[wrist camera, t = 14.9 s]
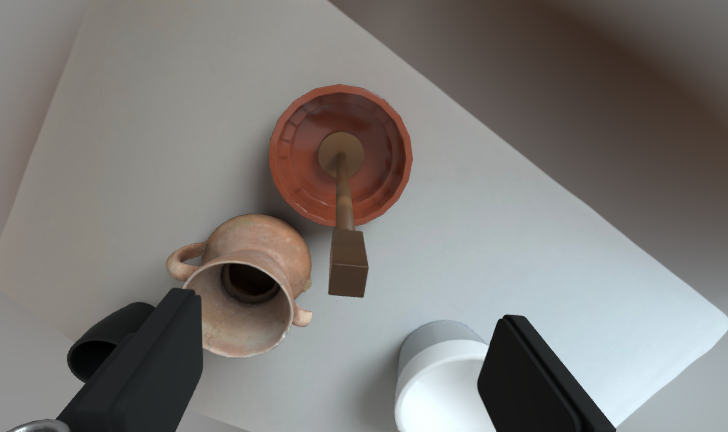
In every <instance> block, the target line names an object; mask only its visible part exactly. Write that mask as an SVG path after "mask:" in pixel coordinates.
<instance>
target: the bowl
mask: <svg viewBox="0 0 728 432" xmlns="http://www.w3.org/2000/svg"><path fill="white" fill-rule="evenodd" d="M488 348H489V344H488V343H486V342H485V341H484V340H483V339H482V338H481V337H480V336H479V335H478V334H477V333H475V332H474V331H473V330H472V329H471V328H469V327H468V326H467V325H465V324H463V323H460V322H456V321H450V320H442V321H435V322H431V323H428V324H426V325H423V326H421V327H420V328H418V329H416V330H415V331H414V332H413V333H412V334H410V335H409V336H408V338H407V339H406V340H405V342H404V344H403V346H402V348H401V352H400V358H399V368H398V378H397V386H396V396H395V406H394V418H395V422H396V425H397V428H398V429H399V431H400V432H496V430H495V428H494V426H493V424H492V421H491V419H490V417H489V415H488V413H487V410H486V408H485V406H484V404H483V402H482V400H481V397H480V395H479V393H478V390H477V380H478V377H479V374H480V371H481V368H482V365H483V362H484V359H485V356H486V354H487V351H488Z"/></svg>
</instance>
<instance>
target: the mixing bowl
mask: <svg viewBox="0 0 728 432" xmlns="http://www.w3.org/2000/svg"><path fill="white" fill-rule="evenodd" d="M335 131H347V132H350V133H352V134H353V135H355V136H356V137H357V138H358V139H359V140H360V142H361V144H362V146H363V148H364V153H365V159H364V163H363V165H362V167H361V169H360V170H359V171H358V172H357V173H356V174H355V175H354V176H352V177H349V183H350V191H351V199H352V207H353V214H354V222H355V225H361V224H364V223H367V222H369V221H371V220H373V219H375V218H377V217H379V216H381V215H383V214H384V213H385V212H386V211H387V210H388V209H389V208H390V207H391V206H392V205H393V204H394V203H395V202H396V201H397V200H398V199H399V197H400V196H401V194H402V192H403V190H404V188H405V186H406V185H407V183H408V181H409V176H410V171H411V166H412V161H413V157H412V149H411V141H410V136H409V134H408V132H407V129H406V127H405V125H404V123H403V121H402V119H401V117H400V115H399V114H398V113H397V112H396V111H395V110H394V109H393V108H392V107H391V106H390V105H389V104H388V103H387V102H386V101H385V100H384V99H383V98H381V97H379V96H377V95H375V94H373V93H371V92H370V91H368V90H366V89H364V88H360V87H353V86H347V85H341V84H338V85H332V86H327V87H321V88H316V89H314V90H312V91H310V92H308V93H307V94H305V95H303V96H301V97H300V98H298V99H296V100H295V101H293V103H292V104H291V105H290V106H289V107H288V108H287V110H286V111H285V112H284V113H283V114H282V115H281V116H280V118H279V119H278V122H277V124H276V127H275V129H274V132H273V134H272V137H271V139H270V152H269V165H270V169H271V173H272V176H273V180H274V184H275V186H276V187H277V189H278V191H279V192H280V194H281V195H282V197H283V198H284V200H285V201H286V203H287V204H288V205H290V206H291V207H292V208H293V209H294V210H296V211H297V212H298V213H299V214H300V215H302V216H303V217H304V218H307V219H309V220H312V221H314V222H316V223H319V224H321V225H325V226H334V227H335V225H336V178H333V177H331V176H329V175H328V174H326V173H325V172H324V171H323V170H322V168H321V166H320V164H319V162H318V149H319V146H320V143H321V142H322V140H323V139H324V138H325V137H326V136H327V135H328V134H330V133H332V132H335Z"/></svg>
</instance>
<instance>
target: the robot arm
mask: <svg viewBox="0 0 728 432" xmlns="http://www.w3.org/2000/svg"><path fill="white" fill-rule="evenodd" d="M202 369H203V344H202V301H201V296H200V295H196V294H195V290H193V289H182V288H172V289H171V290H170V291H169V292H168V294H167V295H166V296H165V297H164V299H163V300H162V301H161V302H160V304H159V305H158V306H157V307H156V308H155V310H154V311H153V312H152V313H151V315H150V316H149V317H148V318H147V320H146V321H145V322H144V323H143V325H142V326H141V327H140V328H139V329H138V331H137V332H136V333H133V332H132V333H129V334H128V335H126V336H125V337H124V338H123V339H122V341H121V342H120V343H119V344H118V345H117V347H116V348H115V349H114V350H113V351H112V353H111V354H110V355H109V356H108V357H107V359H106V360H105V361H104V362H103V363H102V365H101V366H100V367H99V368H98V369H97V370H96V372H95V373H94V374H93V375H92V376H91V378H90V379H89V380H88V381H87V382H86V384H85V385H84V386H83V387H82V389H81V390H80V391H79V392H78V393H77V394H76V395H75V397H74V398H73V399H72V400H71V401H70V403H69V404H68V405H67V406H66V407H65V409H64V410H63V411H62V412H61V413H60V415H59V416H58V417H57V418H56V419H55V420H52V419H44V420H37V421H32V422H29V423H26V424H23V425H20V426H17V427H15V428H13V429H11V430H9V431H7V432H175V431H176V429H177V427H178V425H179V422H180V421H181V418H182V416H183V414H184V412H185V410H186V408H187V405H188V403H189V401H190V399H191V397H192V395H193V393H194V390H195V388H196V386H197V384H198V382H199V380H200V377H201V374H202ZM477 390H478V393H479V395H480V397H481V400H482V402H483V404H484V406H485V408H486V410H487V413H488V415H489V417H490V419H491V421H492V424H493V426H494V428H495V430H496V432H616V429H615V427H614V426H613V425H612V424H611V422H610V421H609V420H608V419H607V417H606V416H605V415H604V414H603V412H602V411H601V410H600V409H599V407H598V406H597V405H596V404H595V403H594V401H593V400H592V399H591V398H590V396H589V395H588V394H587V393H586V391H585V390H584V389H583V388H582V386H581V385H580V384H579V383H578V382H577V380H576V379H575V378H574V377H573V375H572V374H571V373H570V372H569V370H568V369H567V368H566V367H565V365H564V364H563V363H562V362H561V361H560V359H559V358H558V357H557V356H556V354H555V353H554V352H553V351H552V349H551V348H550V347H549V346H548V344H547V343H546V342H545V341H544V339H543V338H542V337H541V336H540V335H539V333H538V332H537V331H536V330H535V328H534V327H533V326H532V325H531V323H530V322H529V321H528V320H527V318H525V317H524V316H519V315H504V316H503V318H502V319H499V320H498V322H497V324H496V327H495V330H494V333H493V336H492V339H491V342H490V345H489V348H488V351H487V354H486V356H485V359H484V362H483V365H482V368H481V371H480V374H479V377H478V380H477Z"/></svg>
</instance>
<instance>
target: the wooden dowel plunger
mask: <svg viewBox="0 0 728 432" xmlns="http://www.w3.org/2000/svg"><path fill="white" fill-rule="evenodd" d="M364 159H365V153H364V148H363V146H362V144H361V142H360V140H359V139H358V138H357V137H356V136H355V135H353V134H352V133H350V132H347V131H335V132H332V133H330V134H328V135H327V136H326V137H325V138H324V139H323V140H322V142H321V143H320V146H319V149H318V162H319V164H320V166H321V168H322V170H323V171H324V172H325V173H326V174H328V175H329V176H331V177H333V178H336V225H335V229H333V235H332V243H331V251H330V268H329V290H328V294H329V295H337V296H349V297H361V298H363V297H364V292H365V286H366V280H367V274H368V268H369V267H368V261H367V255H366V250H365V244H364V238H363V233H362V232H360V231H356V230H355V222H354V214H353V207H352V199H351V191H350V183H349V177H352V176H354V175H355V174H356V173H357V172H358V171H359V170H360V169H361V167H362V165H363V163H364Z"/></svg>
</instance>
